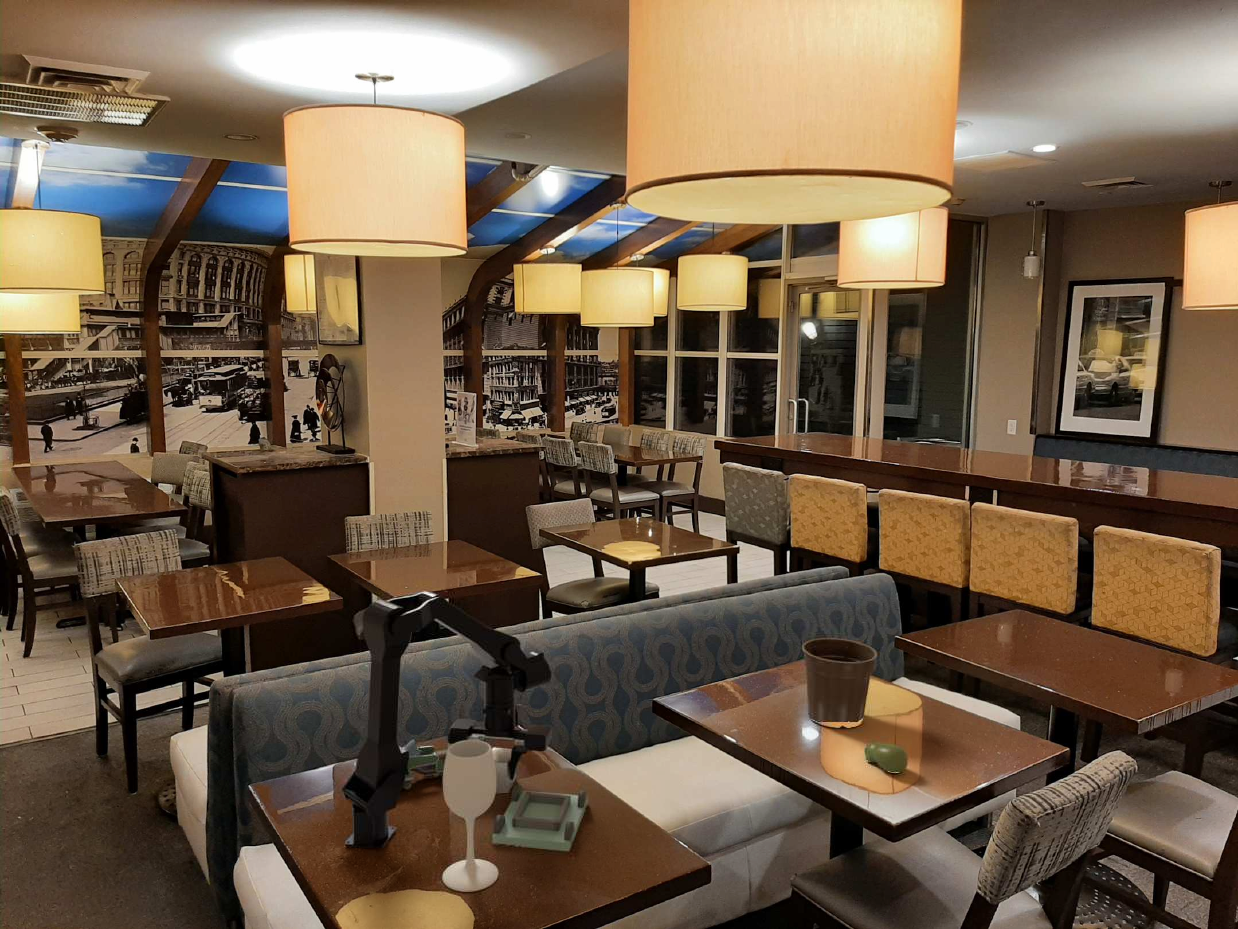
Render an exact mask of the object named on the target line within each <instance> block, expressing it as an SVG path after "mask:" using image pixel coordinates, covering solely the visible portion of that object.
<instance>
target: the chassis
mask: <svg viewBox="0 0 1238 929" xmlns="http://www.w3.org/2000/svg"><path fill="white" fill-rule="evenodd" d="M588 799H589V798H588V792H587V791H586V790H582V789H581V790H579V791H578V795H576V794H567V793H556V792H555V793H554V792H544V791H533V790H523V787H522V785H521V784H513V788H512V790H511V801H510V803H509V805H508V807H507V809H506V810H505V813H504V814H497V815H496V817H495V820H494V825H493V834H492V844H493V843H499V844H507V845H506V846H509V845H515V846H514V847H519V846H521V847H520V848H528V849H529V848H532V849H538V850H539V849H540V850H551V851H560V852H570V850H571V848H572V845H573V842H574V841H575V837H576V835H577V832H578V830H579V827H580V824H581V822H582V819H583V817H584V814H585V812H586V809H587V807H586V806H588V804H589V803H588ZM587 803H588V804H587ZM585 808H586V809H585ZM499 844H498V845H499Z"/></svg>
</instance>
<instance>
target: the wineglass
mask: <svg viewBox="0 0 1238 929" xmlns="http://www.w3.org/2000/svg"><path fill="white" fill-rule="evenodd" d="M447 749H448V751H447V755H446V759H445V765H444V771H443V773H442V775H443V777H442V791H443V792H442V793H443V798H444V801H445V804H446V805H447V807H448V808H449V810H451V812H452V813H453V814H455V815H457V816H458V817H460V818H463V819H464V820H465V824H466V834H467V835H466V844H467V845H466V857H465V858H466V859H463V860H460V861H457V862H454V863H453V864H451V865H449V866H448V867H447V868H446V869H445V870H444V872H443V873H442V878H441V879H442V882H443V883H444V885H445V886H446V887H447V888H449V889H450V890H453V891H457V892H462V893H463V892H465V893H466V892H467V893H468V892H470V893H471V892H475V891H476V892H477V891H481V890H483V889H487V888H488V887H490V886H492V885H493V884H494V883H496V881H497V879H498V878H499V874H500V873H499V869H498V867H497V866H496V864H493V863H492V862H489V861H488V860H485V859H479V858H475V852H474V851H475V850H474V849H475V848H474V846H475V845H474V827H475V821H476V818H478V817H479V816H482V815H483V814H484V813H485V812H486V811H487V810H488V809H489V808H490V807H491V805H492V803H493V802H494V800H495V796H496V794H497V793H496V768H495V762H494V757H493V753H492V747H491V745H490V744H489V743H486V742H484V741H480V740H464V741H460V742H457V743H454V744H450V745H449V747H448V748H447Z"/></svg>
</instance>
